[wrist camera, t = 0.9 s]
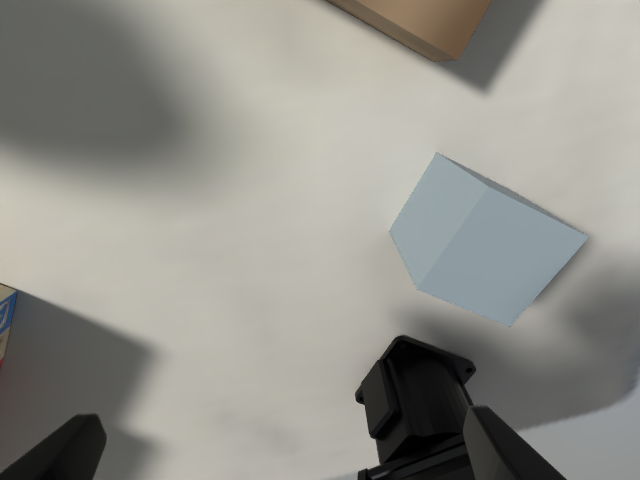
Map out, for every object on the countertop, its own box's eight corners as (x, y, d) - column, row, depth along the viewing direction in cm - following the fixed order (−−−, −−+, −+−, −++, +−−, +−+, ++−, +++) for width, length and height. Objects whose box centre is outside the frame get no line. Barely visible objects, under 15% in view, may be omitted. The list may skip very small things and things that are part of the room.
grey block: (511, 190, 19) (589, 237, 14) (459, 261, 21) (509, 326, 16) (436, 152, 18) (488, 186, 13) (388, 230, 20) (416, 289, 15)
